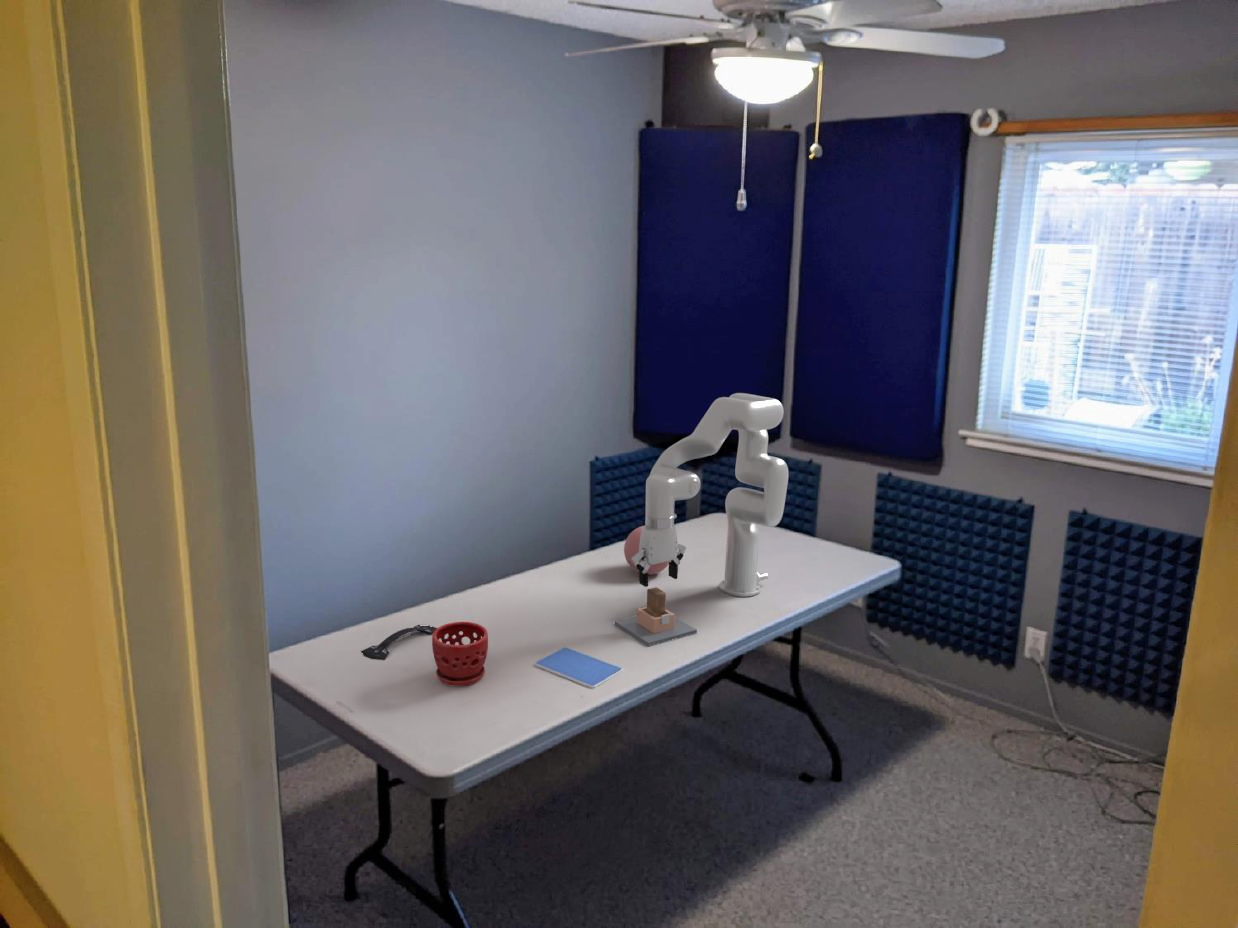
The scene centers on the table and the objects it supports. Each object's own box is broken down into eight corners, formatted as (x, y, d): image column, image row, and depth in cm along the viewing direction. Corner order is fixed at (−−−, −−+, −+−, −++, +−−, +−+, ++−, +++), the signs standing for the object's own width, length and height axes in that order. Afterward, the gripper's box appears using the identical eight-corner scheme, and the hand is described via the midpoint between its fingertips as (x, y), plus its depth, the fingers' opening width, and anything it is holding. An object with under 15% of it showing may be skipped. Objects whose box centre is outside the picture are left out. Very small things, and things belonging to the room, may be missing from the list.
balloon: (689, 568, 304) (691, 522, 300) (653, 585, 288) (655, 537, 284) (650, 557, 313) (652, 512, 309) (613, 573, 297) (614, 527, 293)
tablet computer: (625, 672, 234) (625, 667, 233) (593, 691, 224) (593, 686, 224) (565, 650, 245) (565, 645, 245) (532, 667, 235) (532, 662, 235)
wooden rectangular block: (655, 621, 260) (656, 587, 258) (664, 627, 257) (665, 592, 254) (646, 623, 259) (647, 589, 256) (655, 629, 255) (656, 594, 253)
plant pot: (422, 677, 228) (421, 631, 225) (467, 660, 237) (466, 616, 234) (454, 697, 219) (453, 649, 216) (499, 679, 228) (499, 633, 225)
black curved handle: (352, 657, 239) (351, 644, 238) (424, 624, 259) (423, 612, 258) (377, 667, 234) (376, 654, 233) (448, 632, 254) (448, 620, 253)
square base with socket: (661, 612, 269) (662, 593, 267) (696, 633, 256) (697, 613, 254) (614, 624, 260) (615, 605, 258) (648, 646, 247) (649, 626, 246)
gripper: (677, 511, 258) (675, 570, 263) (624, 523, 249) (624, 583, 253) (694, 519, 252) (692, 578, 257) (641, 531, 243) (640, 593, 247)
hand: (658, 581), depth 255 cm, fingers open, 9 cm apart
